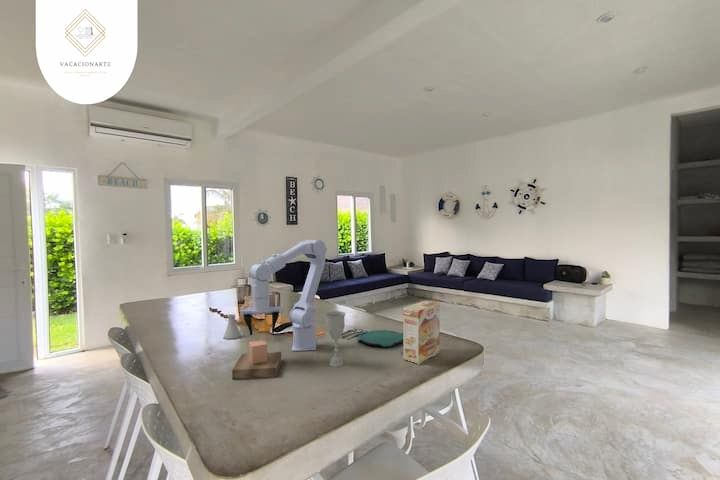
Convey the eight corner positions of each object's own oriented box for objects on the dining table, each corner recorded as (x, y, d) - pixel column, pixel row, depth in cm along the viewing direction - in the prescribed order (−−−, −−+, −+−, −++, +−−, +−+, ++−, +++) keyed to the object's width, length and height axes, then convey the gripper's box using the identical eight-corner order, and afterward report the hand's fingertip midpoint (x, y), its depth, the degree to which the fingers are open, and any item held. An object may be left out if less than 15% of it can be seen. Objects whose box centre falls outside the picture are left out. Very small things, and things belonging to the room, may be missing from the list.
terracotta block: (263, 356, 123) (263, 339, 123) (267, 361, 119) (266, 343, 119) (249, 359, 121) (248, 342, 120) (252, 364, 116) (252, 346, 116)
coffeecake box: (419, 365, 121) (418, 310, 120) (402, 360, 126) (402, 307, 125) (440, 353, 132) (440, 302, 131) (424, 348, 137) (424, 300, 136)
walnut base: (281, 360, 127) (281, 352, 127) (276, 376, 113) (276, 367, 113) (242, 362, 126) (242, 354, 126) (232, 379, 112) (232, 370, 112)
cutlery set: (389, 352, 134) (389, 347, 133) (331, 339, 152) (331, 334, 152) (414, 339, 149) (413, 334, 149) (359, 328, 168) (359, 324, 168)
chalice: (330, 369, 119) (329, 317, 118) (323, 362, 125) (322, 312, 124) (349, 364, 122) (349, 314, 121) (341, 358, 128) (341, 310, 127)
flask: (235, 340, 150) (234, 317, 150) (220, 339, 152) (219, 316, 151) (243, 335, 157) (243, 313, 157) (229, 334, 159) (228, 312, 158)
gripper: (281, 293, 132) (282, 328, 133) (241, 296, 129) (242, 332, 129) (281, 297, 125) (282, 334, 126) (239, 300, 122) (240, 338, 122)
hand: (262, 333), depth 127 cm, fingers open, 7 cm apart
